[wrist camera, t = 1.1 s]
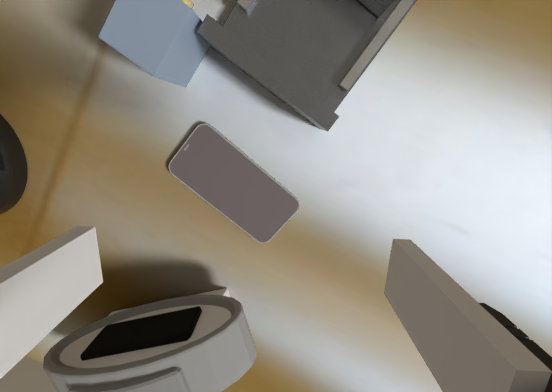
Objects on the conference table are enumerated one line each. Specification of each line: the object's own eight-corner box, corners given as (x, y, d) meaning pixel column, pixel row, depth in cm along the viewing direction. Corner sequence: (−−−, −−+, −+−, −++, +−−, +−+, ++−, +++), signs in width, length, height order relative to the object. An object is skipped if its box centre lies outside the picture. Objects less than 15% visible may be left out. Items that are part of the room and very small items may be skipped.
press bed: (214, 48, 29) (195, 29, 23) (300, -97, 26) (306, -167, 20) (319, 129, 31) (329, 131, 25) (413, 3, 28) (451, -32, 21)
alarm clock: (249, 276, 37) (231, 357, 24) (261, 316, 38) (250, 410, 26) (87, 310, 39) (-5, 400, 26) (105, 346, 40) (26, 447, 28)
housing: (145, 58, 30) (98, 37, 22) (178, -2, 28) (138, -48, 21) (186, 87, 30) (153, 76, 23) (219, 30, 29) (196, -3, 21)
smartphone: (263, 247, 35) (164, 169, 32) (264, 243, 36) (167, 167, 33) (303, 204, 33) (202, 118, 31) (303, 201, 34) (204, 118, 32)
